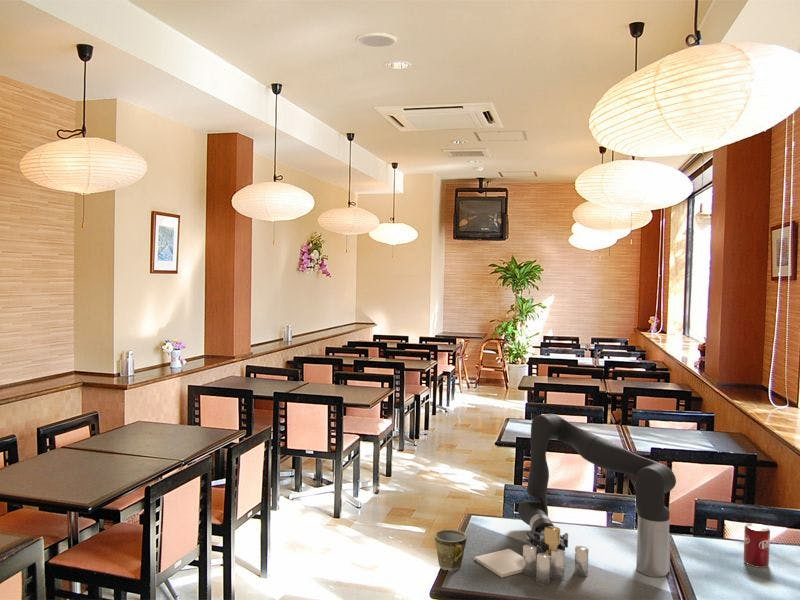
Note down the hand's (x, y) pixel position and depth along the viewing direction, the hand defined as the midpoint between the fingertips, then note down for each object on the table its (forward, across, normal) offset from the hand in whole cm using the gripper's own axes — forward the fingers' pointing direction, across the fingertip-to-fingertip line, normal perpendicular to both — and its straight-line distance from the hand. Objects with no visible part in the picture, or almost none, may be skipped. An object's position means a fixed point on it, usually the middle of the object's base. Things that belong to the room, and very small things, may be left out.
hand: (554, 549), depth 206 cm
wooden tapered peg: (-3, 0, +7) cm, 7 cm away
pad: (-4, -14, +7) cm, 16 cm away
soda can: (-8, +67, +7) cm, 68 cm away
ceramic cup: (+1, -32, +7) cm, 32 cm away
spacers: (+2, 0, +7) cm, 7 cm away
